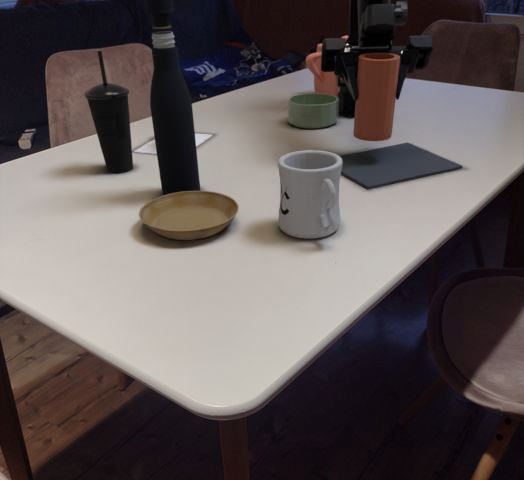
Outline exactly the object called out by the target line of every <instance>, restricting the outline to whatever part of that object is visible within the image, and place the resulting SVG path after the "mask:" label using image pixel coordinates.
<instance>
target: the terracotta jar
mask: <svg viewBox="0 0 524 480" xmlns="http://www.w3.org/2000/svg"><path fill="white" fill-rule="evenodd" d="M399 64H400V56H399V55H396V54H392V53H366V54H362V55H360V56H359V62H358V76H357V101H356V104H355V116H354V117H353V118H354V120H353V137H354V138H355V139H357V140H360V141H364V142H365V141H366V142H383V141H387V140H389V139H391V138H392V134H393V127H394V117H395V108H396V91H397V82H398V73H399Z"/></svg>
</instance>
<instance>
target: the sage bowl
mask: <svg viewBox="0 0 524 480" xmlns="http://www.w3.org/2000/svg"><path fill="white" fill-rule="evenodd" d="M338 109H339V99H338V97H337V96H334V95H331V94H325V93H316V92H308V93H307V92H306V93H299V94H295V95H292V96H290V97H289V98H287V121H288V123H289V124H290V125H293V126H294V127H296V128H300V129H314V130H315V129H325V128H328V127H331V126H333V125H334V124H336V123H337V122H338V121H339V113H338Z"/></svg>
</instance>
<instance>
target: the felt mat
mask: <svg viewBox="0 0 524 480" xmlns="http://www.w3.org/2000/svg"><path fill="white" fill-rule="evenodd" d="M339 156H340V157H341V158H342V162H343V163H342V170H341V176H344V177H346V178H347V179H349V180H351V181H353V182H354V183H356V184H357V185H359V186H362V187H363V188H364V189H367V190H370V189H375V188H379V187H380V188H381V187H384V186H388V185H394V184H397V183H398V184H399V183H402V182H407V181H412V180H416V179H422V178H425V177H430V176H434V175H438V174H444V173H448V172H452V171H457V170H463V165H462V164H459V163H457V162H455V161H453V160H450V159H448V158H445V157H443V156H440V155H438V154H436V153H434V152H431V151H428V150H427V149H425V148H421V147H419V146H417V145H415V144H412V143H410V142H403V143H399V144H392V145H387V146H382V147H377V148H372V149H368V150H362V151H357V152H352V153H347V154H342V155H339Z"/></svg>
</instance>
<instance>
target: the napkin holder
mask: <svg viewBox="0 0 524 480" xmlns="http://www.w3.org/2000/svg"><path fill="white" fill-rule="evenodd" d="M213 136H214V134H208V133H207V134H206V133H197V132H195V140H196V148H197V147H198V146H200V145H201V144H203V143H204V142H206V141H207V140H208V139H210V138H212V137H213ZM132 153H143V154H153V155H157V151H156V144H155V138H154V139H152V140H150V141H148V142H147V143H145V144H143V145H142V146H140V147H138V148H136V149H135V150H132Z"/></svg>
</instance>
